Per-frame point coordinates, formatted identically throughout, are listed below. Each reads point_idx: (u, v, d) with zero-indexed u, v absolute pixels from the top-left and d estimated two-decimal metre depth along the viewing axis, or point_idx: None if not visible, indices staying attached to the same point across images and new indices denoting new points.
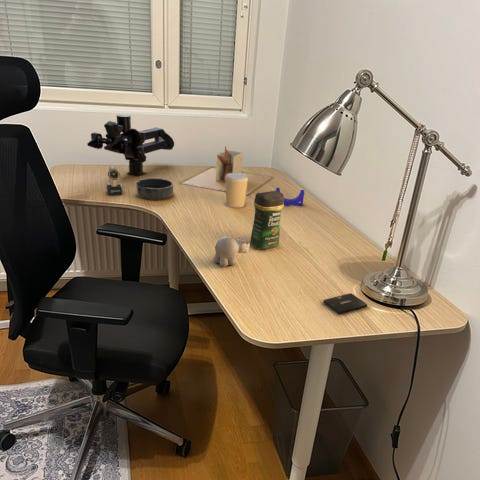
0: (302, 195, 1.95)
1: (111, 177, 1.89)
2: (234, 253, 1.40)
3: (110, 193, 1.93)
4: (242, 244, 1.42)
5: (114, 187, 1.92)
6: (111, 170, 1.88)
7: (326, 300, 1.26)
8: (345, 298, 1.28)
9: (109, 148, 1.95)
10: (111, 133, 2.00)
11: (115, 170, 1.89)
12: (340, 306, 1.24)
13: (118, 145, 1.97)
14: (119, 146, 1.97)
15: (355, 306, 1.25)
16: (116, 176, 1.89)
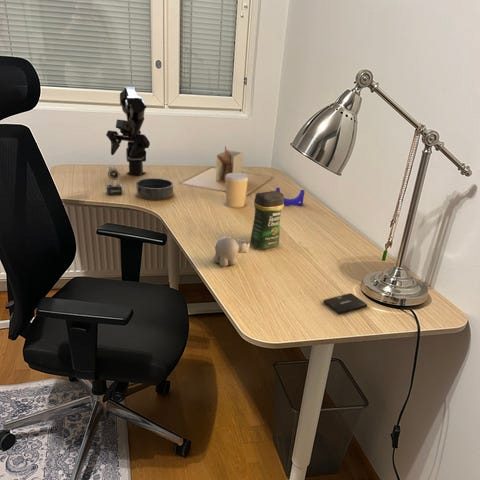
0: (302, 195, 1.95)
1: (111, 177, 1.89)
2: (234, 253, 1.40)
3: (110, 193, 1.93)
4: (242, 244, 1.42)
5: (114, 187, 1.92)
6: (111, 170, 1.88)
7: (326, 300, 1.26)
8: (345, 298, 1.28)
9: (133, 154, 1.93)
10: (125, 130, 1.93)
11: (115, 170, 1.89)
12: (340, 306, 1.24)
13: (139, 144, 1.93)
14: (140, 144, 1.93)
15: (355, 306, 1.25)
16: (116, 176, 1.89)
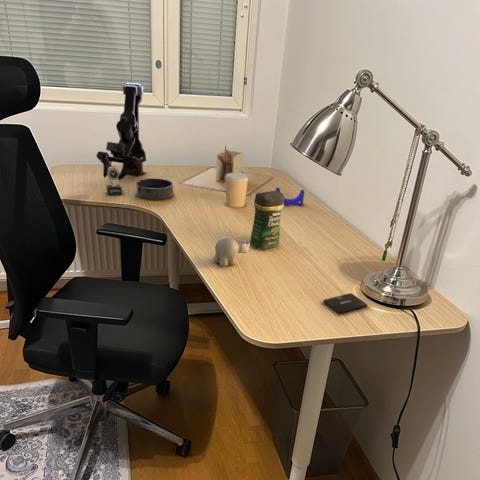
0: (302, 195, 1.95)
1: (110, 177, 1.89)
2: (234, 253, 1.40)
3: (110, 193, 1.93)
4: (242, 244, 1.42)
5: (114, 187, 1.92)
6: (110, 170, 1.88)
7: (326, 300, 1.26)
8: (345, 298, 1.28)
9: (122, 176, 1.90)
10: (116, 152, 1.89)
11: (114, 170, 1.89)
12: (340, 306, 1.24)
13: (128, 166, 1.90)
14: (130, 167, 1.90)
15: (355, 306, 1.25)
16: (116, 176, 1.89)
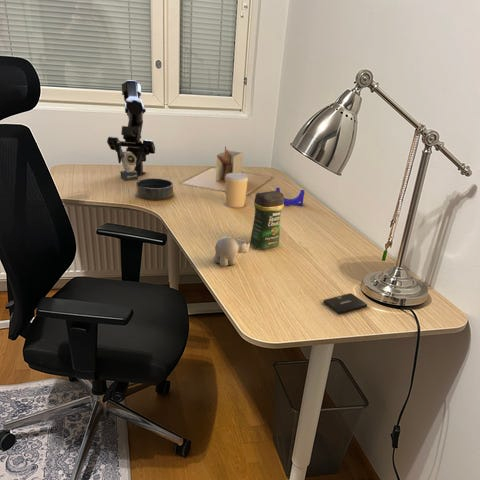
0: (302, 195, 1.95)
1: (129, 162, 1.85)
2: (234, 253, 1.40)
3: (127, 179, 1.89)
4: (242, 244, 1.42)
5: (130, 172, 1.89)
6: (128, 155, 1.85)
7: (326, 300, 1.26)
8: (345, 298, 1.28)
9: (139, 160, 1.88)
10: (130, 136, 1.86)
11: (131, 155, 1.86)
12: (340, 306, 1.24)
13: (144, 150, 1.88)
14: (145, 150, 1.88)
15: (355, 306, 1.25)
16: (133, 161, 1.86)
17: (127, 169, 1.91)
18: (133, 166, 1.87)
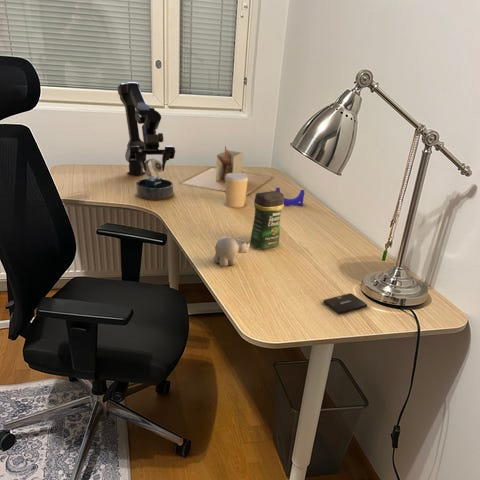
0: (302, 195, 1.95)
1: (157, 169, 1.89)
2: (234, 253, 1.40)
3: (154, 186, 1.93)
4: (242, 244, 1.42)
5: (157, 179, 1.93)
6: (155, 162, 1.89)
7: (326, 300, 1.26)
8: (345, 298, 1.28)
9: None
10: (152, 144, 1.89)
11: (157, 162, 1.90)
12: (340, 306, 1.24)
13: None
14: (167, 156, 1.94)
15: (355, 306, 1.25)
16: (160, 168, 1.91)
17: (151, 176, 1.94)
18: (160, 173, 1.91)
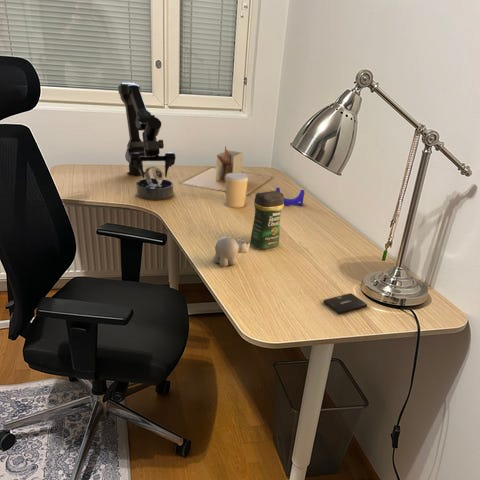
0: (302, 195, 1.95)
1: (158, 177, 1.91)
2: (234, 253, 1.40)
3: None
4: (242, 244, 1.42)
5: (157, 187, 1.95)
6: (155, 170, 1.90)
7: (326, 300, 1.26)
8: (345, 298, 1.28)
9: None
10: (153, 150, 1.90)
11: (158, 170, 1.92)
12: (340, 306, 1.24)
13: (169, 162, 1.95)
14: (170, 163, 1.95)
15: (355, 306, 1.25)
16: (161, 175, 1.92)
17: (151, 184, 1.96)
18: (161, 180, 1.93)
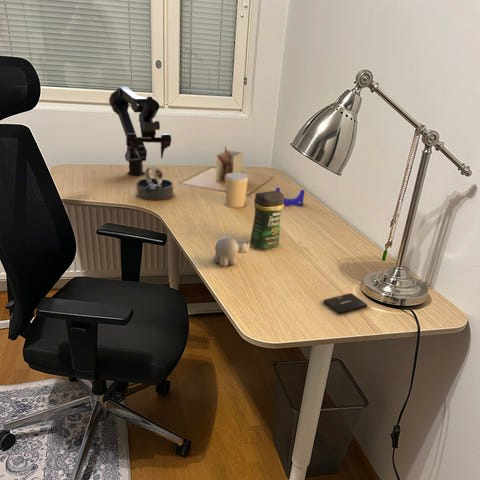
0: (302, 195, 1.95)
1: (158, 177, 1.91)
2: (234, 253, 1.40)
3: None
4: (242, 244, 1.42)
5: (157, 187, 1.95)
6: (155, 170, 1.90)
7: (326, 300, 1.26)
8: (345, 298, 1.28)
9: None
10: (149, 131, 1.95)
11: (158, 170, 1.92)
12: (340, 306, 1.24)
13: None
14: (166, 144, 1.99)
15: (355, 306, 1.25)
16: (161, 175, 1.92)
17: (151, 184, 1.96)
18: (161, 180, 1.93)
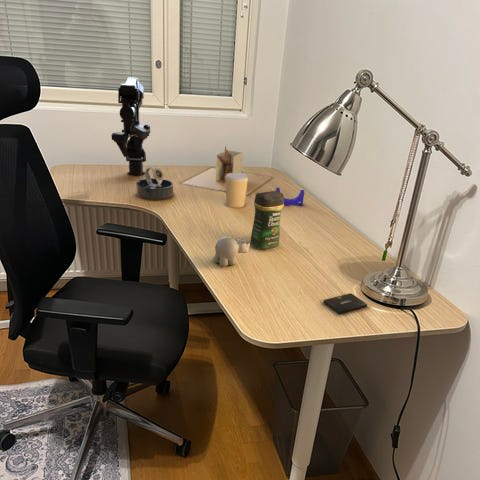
0: (302, 195, 1.95)
1: (158, 177, 1.91)
2: (234, 253, 1.40)
3: None
4: (242, 244, 1.42)
5: (157, 187, 1.95)
6: (155, 170, 1.90)
7: (326, 300, 1.26)
8: (345, 298, 1.28)
9: None
10: None
11: (158, 170, 1.92)
12: (340, 306, 1.24)
13: None
14: None
15: (355, 306, 1.25)
16: (161, 175, 1.92)
17: (151, 184, 1.96)
18: (161, 180, 1.93)
